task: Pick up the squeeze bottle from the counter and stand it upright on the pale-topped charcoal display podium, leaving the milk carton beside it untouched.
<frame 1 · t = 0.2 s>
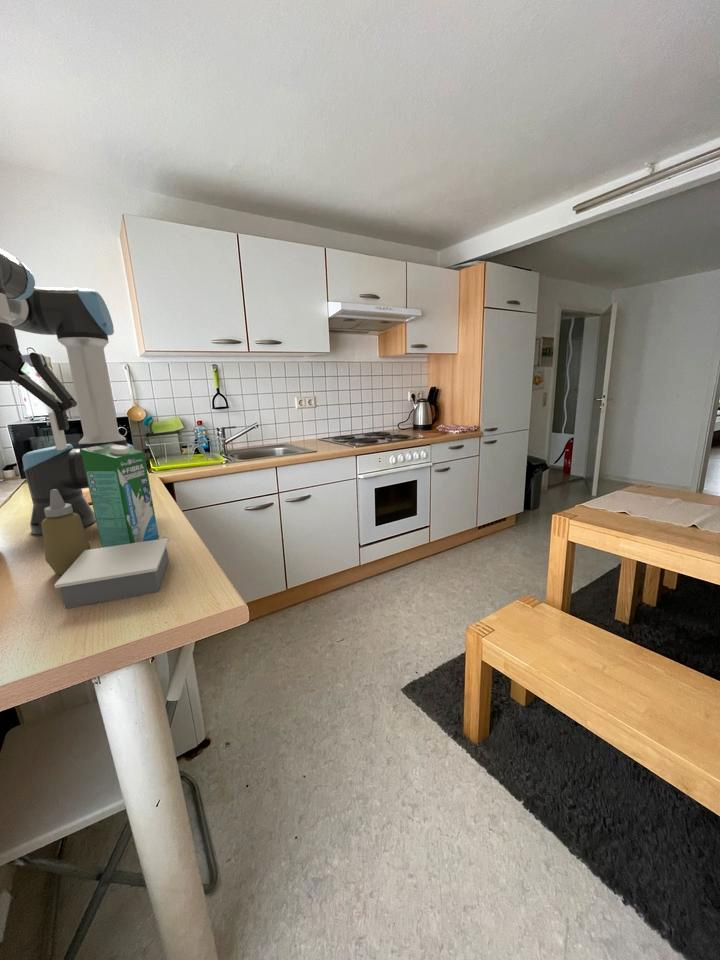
hand: (16, 452, 67), 27 cm above the table, tool pointing down, fingers open, 13 cm apart
display podium: (122, 581, 78), on the table
milk carton: (131, 543, 98), on the table
squeeze bottle: (72, 570, 85), on the table
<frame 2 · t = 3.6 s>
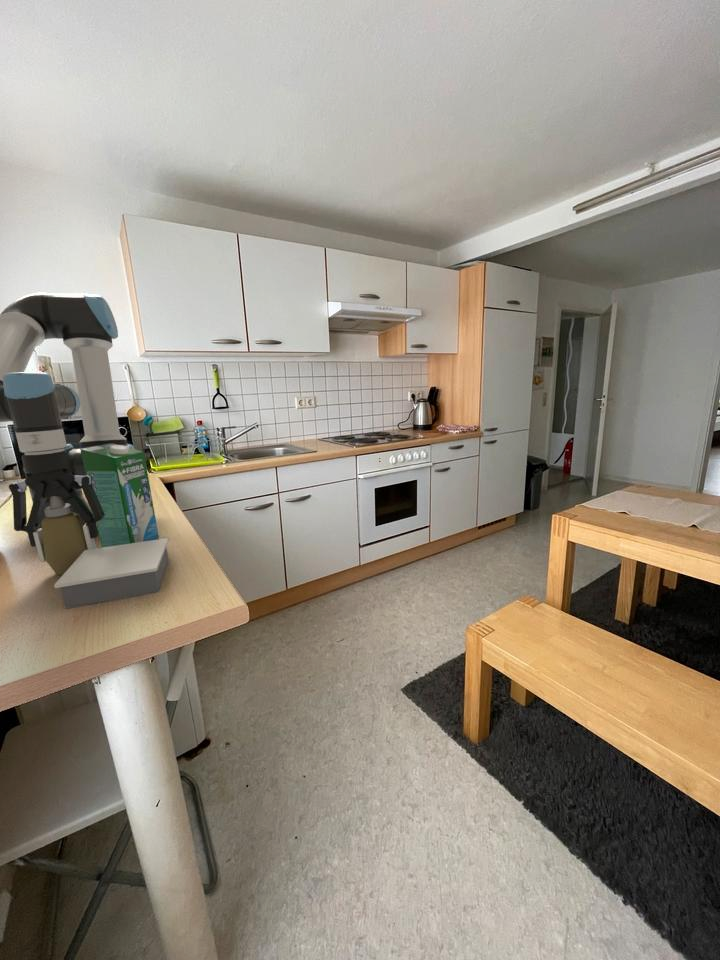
hand: (69, 555, 84), 3 cm above the table, tool pointing down, fingers closed on squeeze bottle, 8 cm apart
squeeze bottle: (72, 570, 85), on the table, touching gripper
everything else where it was.
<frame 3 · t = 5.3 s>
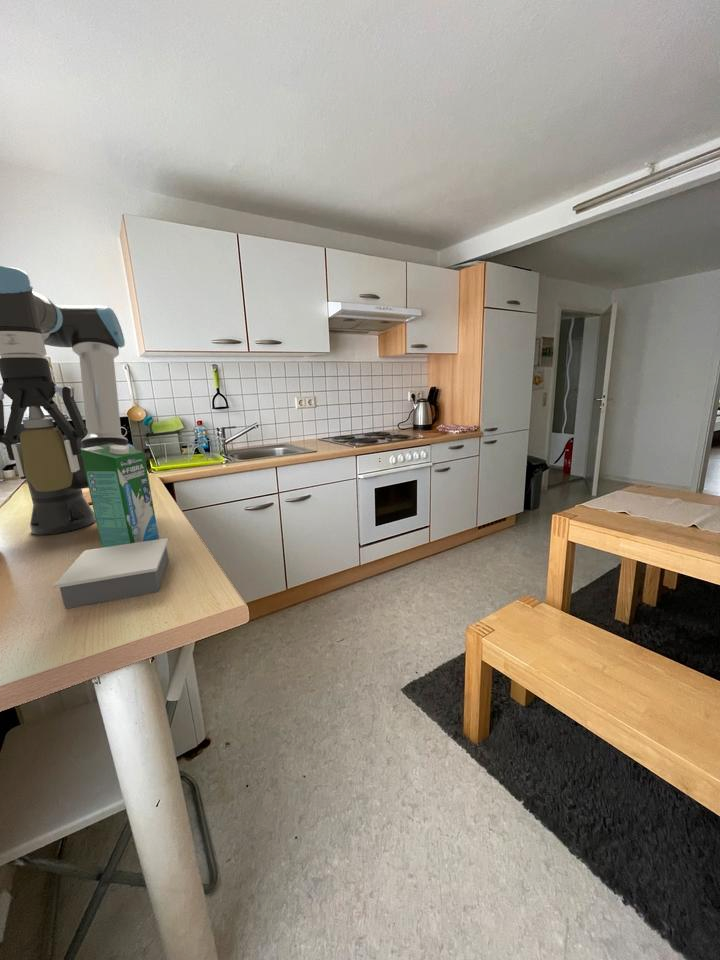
hand: (50, 473, 80), 22 cm above the table, tool pointing down, fingers closed on squeeze bottle, 8 cm apart
squeeze bottle: (54, 489, 81), point 18 cm above the table, touching gripper
everything else where it was.
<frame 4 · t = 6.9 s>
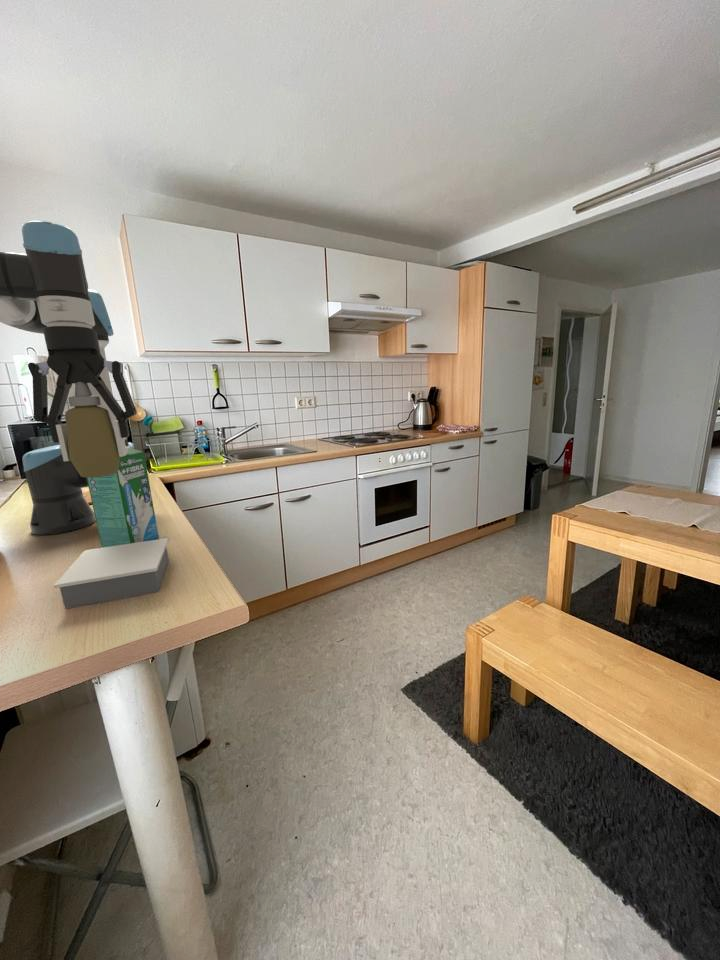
hand: (96, 457, 72), 25 cm above the table, tool pointing down, fingers closed on squeeze bottle, 8 cm apart
squeeze bottle: (100, 475, 73), point 22 cm above the table, touching gripper
everything else where it was.
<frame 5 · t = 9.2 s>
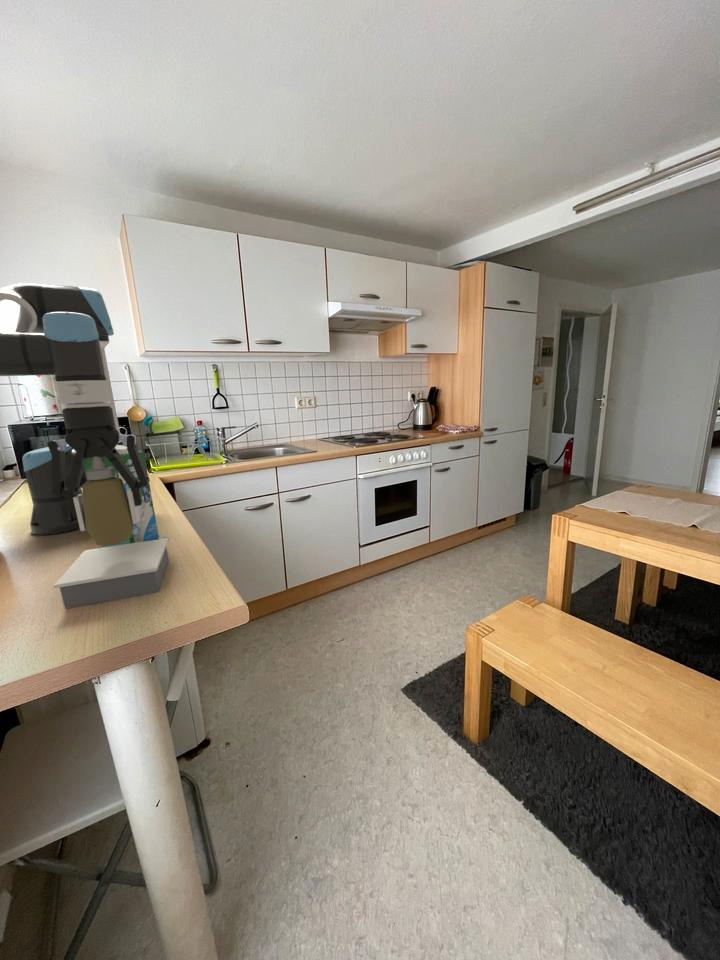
hand: (111, 525, 75), 12 cm above the table, tool pointing down, fingers closed on squeeze bottle, 8 cm apart
squeeze bottle: (114, 541, 76), point 9 cm above the table, touching gripper
everything else where it was.
when the fingers open (10 cm above the table, at t = 10.7 s): squeeze bottle drops 1 cm, resting on display podium.
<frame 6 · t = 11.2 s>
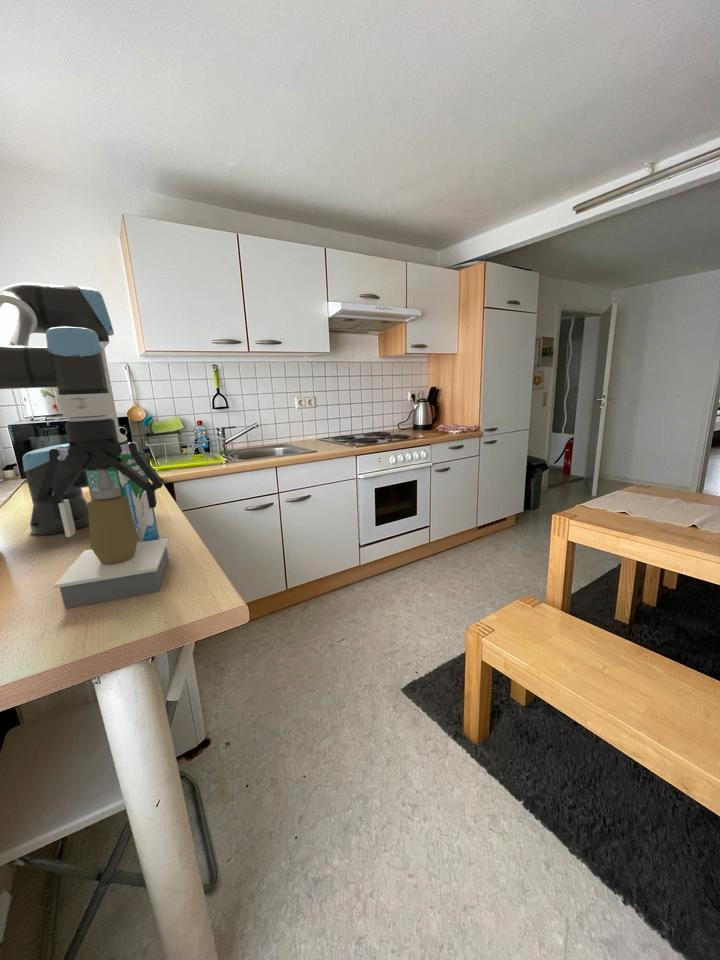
hand: (112, 529, 75), 11 cm above the table, tool pointing down, fingers open, 13 cm apart
squeeze bottle: (117, 559, 77), point 5 cm above the table, touching display podium
everything else where it was.
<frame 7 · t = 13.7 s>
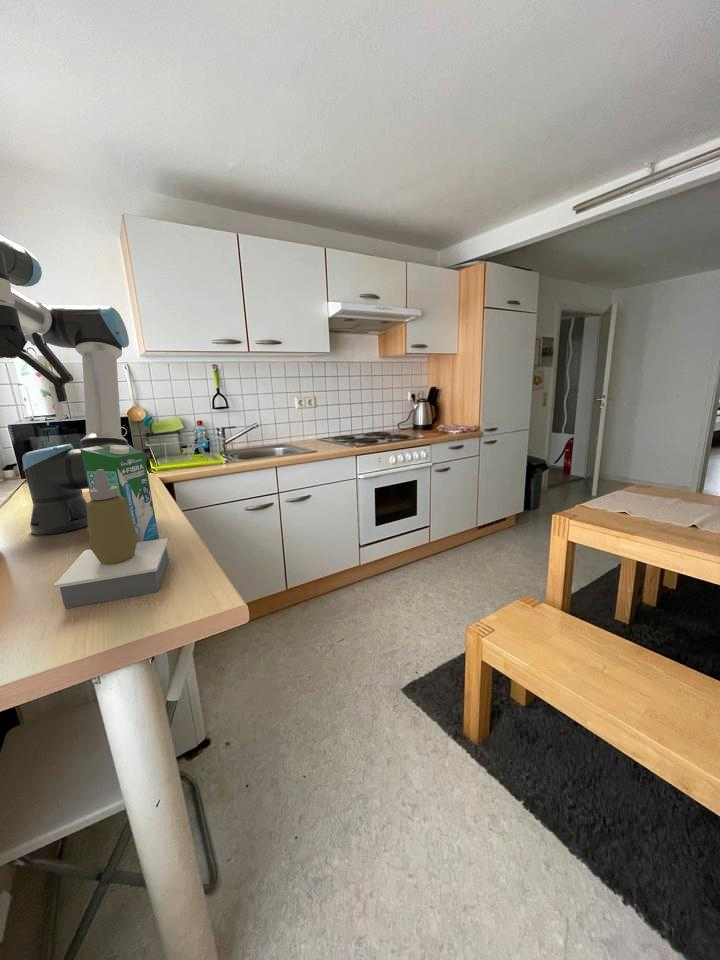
hand: (20, 421, 77), 32 cm above the table, tool pointing down, fingers open, 13 cm apart
nothing on the table moved.
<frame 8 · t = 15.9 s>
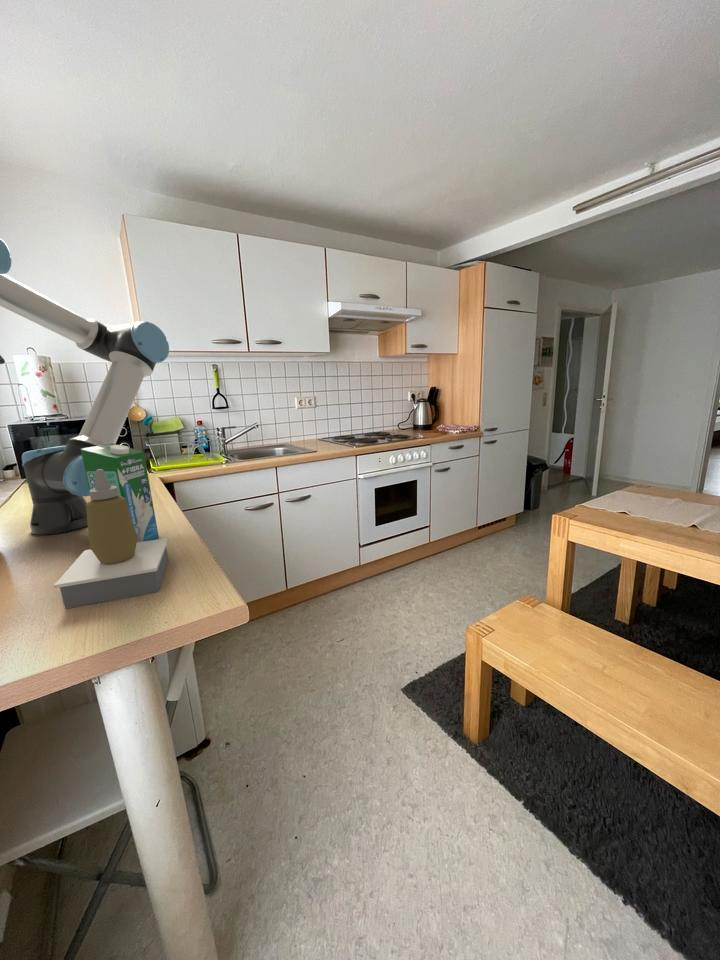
nothing on the table moved.
at the end: squeeze bottle inside the target area on the display podium (0.1 cm from its centre), point 4.8 cm above the display podium's base; squeeze bottle tilted 0°; the gripper is holding nothing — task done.
